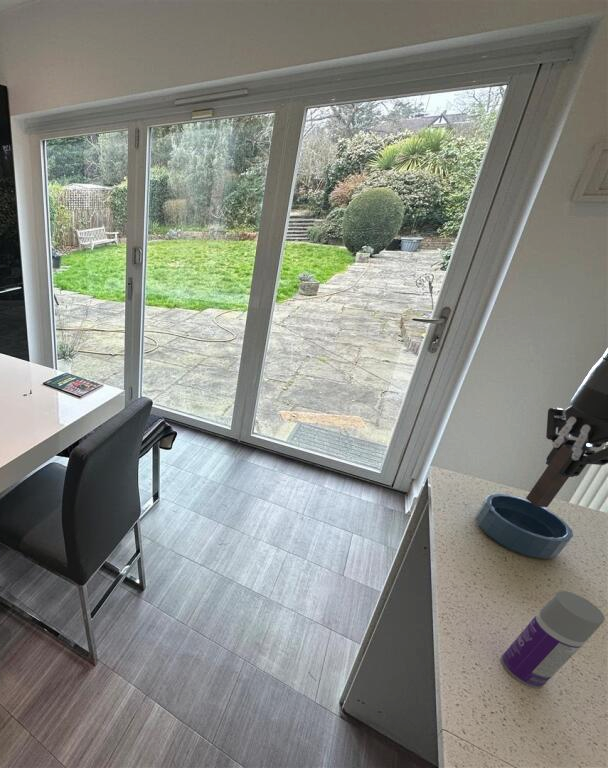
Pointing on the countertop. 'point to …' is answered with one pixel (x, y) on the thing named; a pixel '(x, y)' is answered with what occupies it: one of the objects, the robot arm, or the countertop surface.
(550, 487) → the stirring stick
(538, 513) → the bowl
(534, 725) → the countertop surface
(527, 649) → the container
